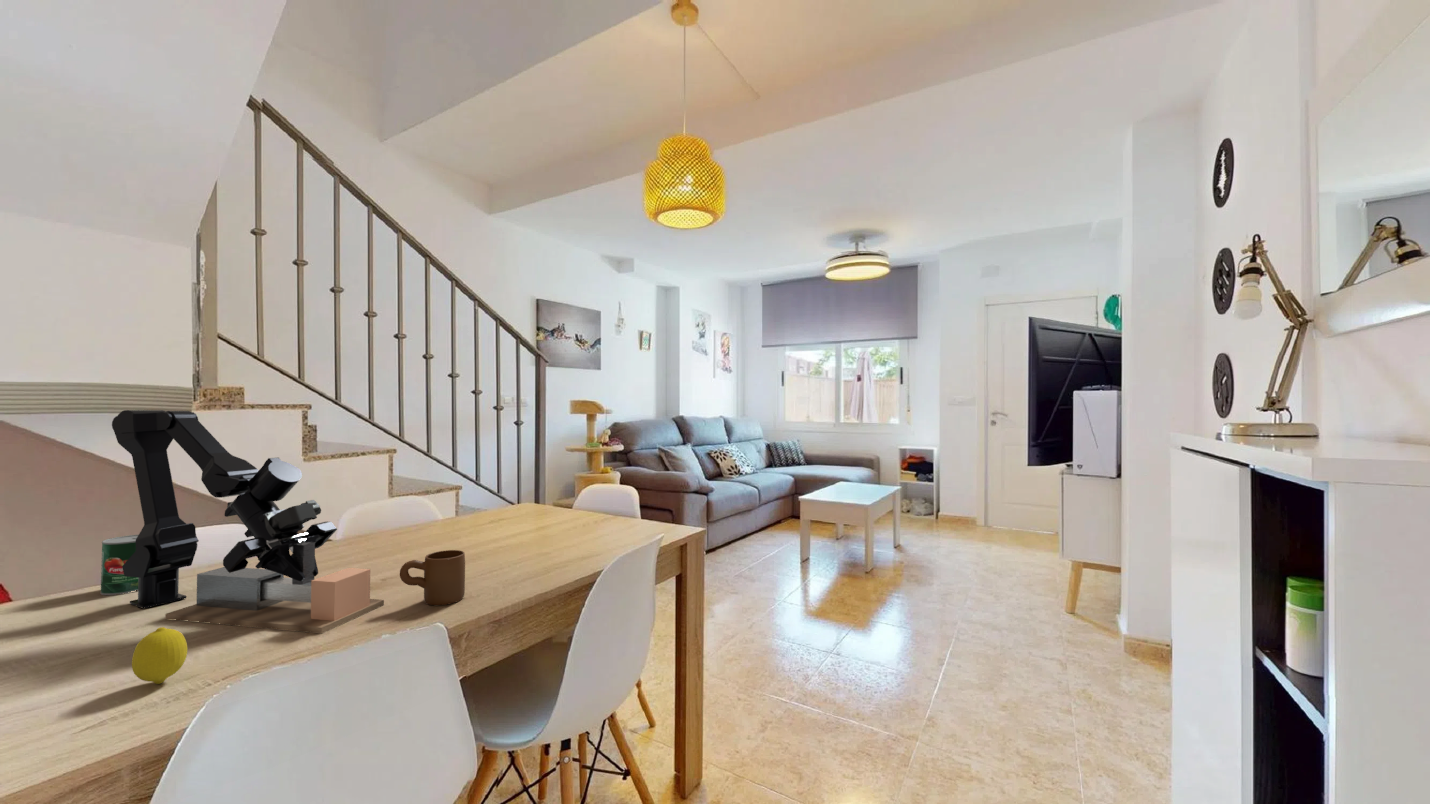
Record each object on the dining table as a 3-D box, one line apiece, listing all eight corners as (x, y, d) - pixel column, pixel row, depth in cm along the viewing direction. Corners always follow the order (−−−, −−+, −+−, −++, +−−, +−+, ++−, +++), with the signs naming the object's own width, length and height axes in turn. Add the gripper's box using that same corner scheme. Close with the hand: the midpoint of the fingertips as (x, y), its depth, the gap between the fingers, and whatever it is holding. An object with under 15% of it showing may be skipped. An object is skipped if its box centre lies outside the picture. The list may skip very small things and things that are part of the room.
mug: (401, 614, 103) (402, 565, 103) (396, 603, 109) (397, 556, 109) (468, 601, 110) (469, 555, 110) (460, 591, 116) (460, 547, 116)
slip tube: (225, 595, 104) (226, 541, 104) (242, 590, 107) (243, 537, 107) (327, 604, 100) (327, 547, 100) (341, 598, 103) (342, 543, 103)
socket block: (310, 618, 98) (311, 580, 98) (347, 603, 106) (348, 567, 106) (334, 620, 97) (334, 582, 97) (369, 605, 105) (370, 569, 105)
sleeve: (196, 605, 104) (197, 574, 104) (225, 596, 109) (225, 566, 109) (256, 610, 102) (257, 578, 102) (283, 601, 107) (283, 570, 107)
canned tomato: (111, 597, 111) (113, 544, 111) (92, 592, 114) (93, 540, 114) (162, 585, 118) (163, 536, 119) (142, 581, 121) (143, 532, 121)
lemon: (157, 674, 79) (158, 620, 79) (197, 673, 80) (198, 619, 80) (118, 694, 74) (120, 636, 74) (162, 693, 74) (163, 635, 74)
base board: (165, 619, 100) (165, 613, 100) (243, 593, 114) (243, 589, 114) (321, 633, 94) (321, 627, 94) (383, 604, 108) (384, 599, 108)
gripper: (237, 496, 95) (289, 563, 93) (330, 482, 113) (374, 537, 111) (200, 539, 96) (250, 605, 94) (297, 518, 114) (341, 573, 112)
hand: (309, 577), depth 103 cm, fingers closed on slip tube, 2 cm apart
